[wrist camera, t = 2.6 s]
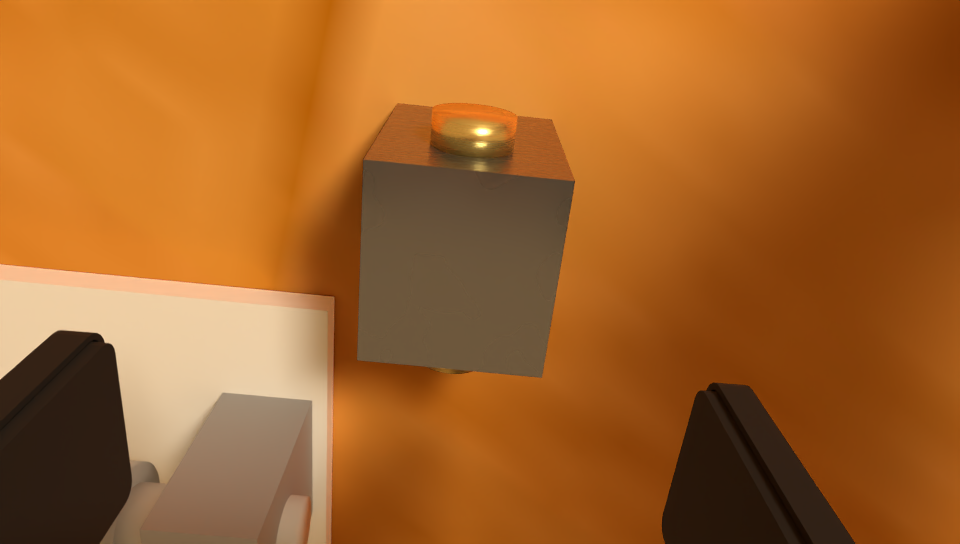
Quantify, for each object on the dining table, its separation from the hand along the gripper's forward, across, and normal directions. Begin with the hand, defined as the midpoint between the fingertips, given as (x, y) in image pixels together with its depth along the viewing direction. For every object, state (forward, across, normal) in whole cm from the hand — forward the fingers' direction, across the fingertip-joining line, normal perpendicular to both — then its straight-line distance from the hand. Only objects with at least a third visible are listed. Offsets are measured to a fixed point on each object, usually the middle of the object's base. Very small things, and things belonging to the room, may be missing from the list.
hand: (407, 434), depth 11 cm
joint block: (+11, -1, -1) cm, 11 cm away
